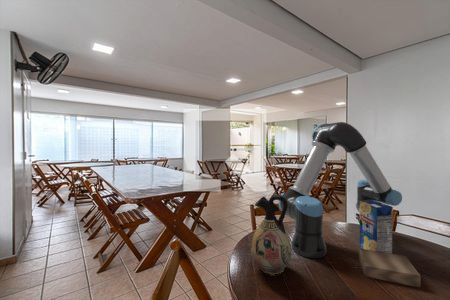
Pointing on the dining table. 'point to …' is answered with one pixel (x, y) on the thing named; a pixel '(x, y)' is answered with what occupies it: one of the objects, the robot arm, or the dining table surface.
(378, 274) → the walnut pedestal block
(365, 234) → the beverage box
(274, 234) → the ceramic jug
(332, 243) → the dining table surface
